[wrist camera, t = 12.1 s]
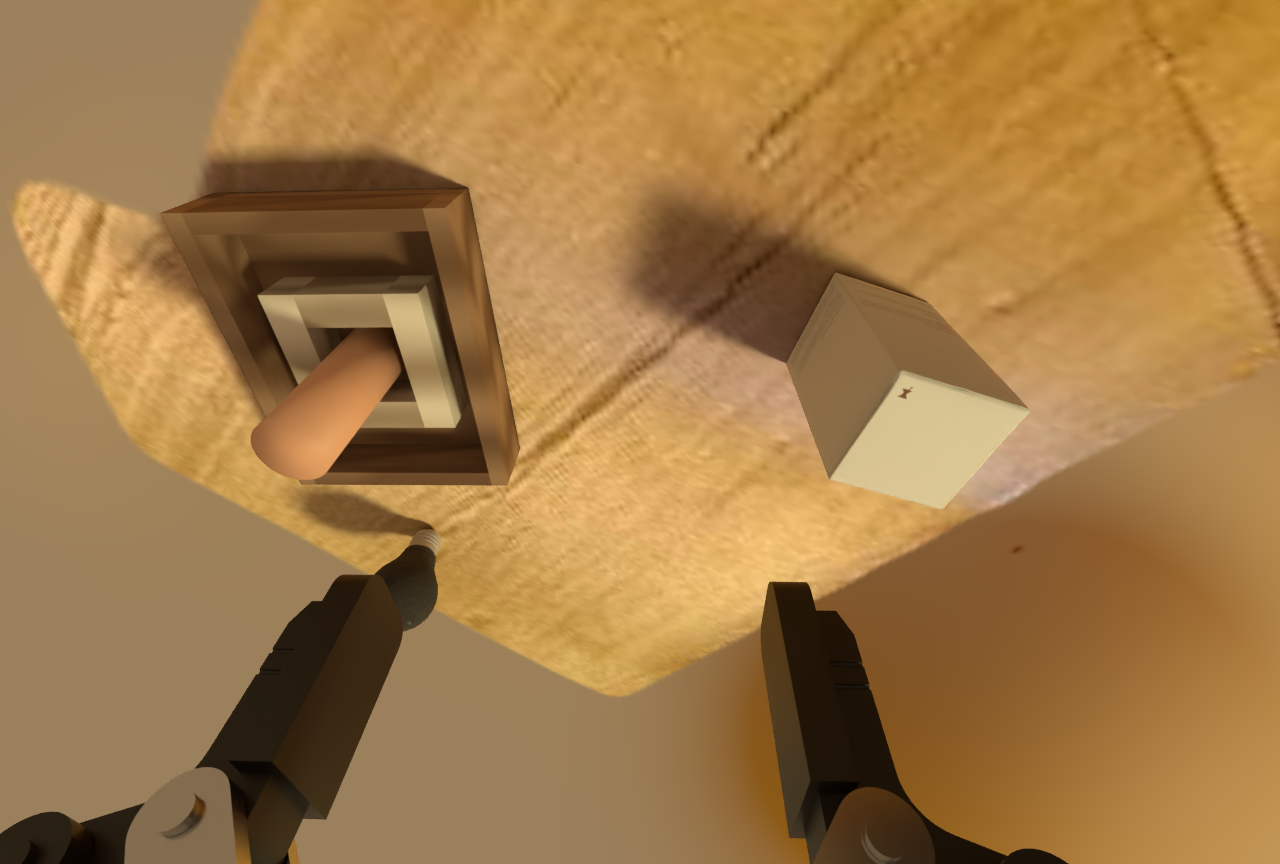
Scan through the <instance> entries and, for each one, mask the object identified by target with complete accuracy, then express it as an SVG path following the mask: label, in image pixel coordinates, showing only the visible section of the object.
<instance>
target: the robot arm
mask: <svg viewBox="0 0 1280 864" xmlns="http://www.w3.org/2000/svg"><path fill="white" fill-rule="evenodd" d="M402 634H403V622H402V618H401V615H400V613H399V611H398V609H397V607H396V605H395V602H394V600H393V598H392V596H391V594H390V592H389V590H388V587H387V585H386V583H385V581H384V579H383V578H382V577H381V576H379V575H341V576H339V577H338V578H337V579H336V580H335V581H334V582H333V584H332V585H331V587H330V589H329V590H328V592H327V594H326V595H325V597H324V599H323V600H322V601H312V602H311V603H310V604H309V605H308V606H306V607H305V608H304V609H303V610H302V611H301V612H300V613H299V614H298V615H297V616H296V617H294V618H293V619H292V620H291V621H290V622H289V623H288V625H287V627H286V628H285V630H284V631H283V633H282V634H281V636H280V637H279V639H278V641H277V642H276V644H275V645H274V647H273V652H272V653H270V654H269V655H268V657H267V658H266V660H265V662H264V663H263V665H262V666H261V668H260V673H259V674H258V675H256V676H255V677H254V679H253V680H252V682H251V684H250V685H249V687H248V688H247V690H246V692H245V693H244V695H243V696H242V698H241V700H240V701H239V703H238V704H237V706H236V708H235V709H234V711H233V712H232V714H231V716H230V717H229V719H228V720H227V722H226V723H225V725H224V727H223V728H222V730H221V732H220V733H219V735H218V736H217V738H216V740H215V741H214V743H213V744H212V746H211V747H210V749H209V751H208V752H207V754H206V755H205V756H204V758H203V759H202V761H201V762H200V763H199V764H198V765H197V766H196V768H195V769H193V770H190V771H187V772H185V773H183V774H181V775H179V776H177V777H175V778H174V779H172V780H170V781H169V782H168V783H166V784H165V785H164V786H162V787H161V788H160V789H159V790H157V791H156V792H155V793H154V794H153V795H152V796H151V797H150V798H149V799H148V800H147V801H146V802H145V803H143V804H140V805H137V806H134V807H131V808H127V809H124V810H121V811H117V812H114V813H111V814H108V815H104V816H101V817H98V818H95V819H92V820H88V821H85V822H82V823H78V822H76V821H74V820H73V819H71V818H69V817H68V816H66V815H64V814H62V813H59V812H45V813H40V814H37V815H34V816H31V817H29V818H26V819H24V820H22V821H20V822H18V823H16V824H14V825H13V826H11V827H10V828H8V829H6V830H5V831H3V832H2V833H1V834H0V864H300V863H299V857H298V851H297V846H296V842H295V840H294V837H295V835H296V833H297V830H298V828H299V826H300V824H301V822H302V819H326V818H327V816H328V814H329V811H330V809H331V807H332V804H333V802H334V800H335V797H336V795H337V792H338V790H339V788H340V785H341V783H342V781H343V778H344V776H345V774H346V771H347V769H348V767H349V764H350V762H351V760H352V757H353V755H354V752H355V750H356V748H357V746H358V743H359V741H360V739H361V736H362V734H363V731H364V729H365V727H366V724H367V722H368V719H369V717H370V715H371V713H372V710H373V708H374V706H375V703H376V701H377V699H378V696H379V694H380V692H381V689H382V687H383V684H384V682H385V680H386V677H387V675H388V673H389V670H390V668H391V666H392V663H393V661H394V659H395V656H396V654H397V652H398V649H399V647H400V643H401V640H402ZM761 651H762V659H763V666H764V673H765V679H766V686H767V692H768V699H769V706H770V712H771V719H772V725H773V732H774V739H775V744H776V752H777V759H778V765H779V772H780V778H781V785H782V791H783V798H784V805H785V812H786V818H787V825H788V831H789V838H805V839H806V842H807V848H808V854H809V860H810V864H1068V863H1066V862H1065V861H1063V860H1062V859H1060V858H1058V857H1056V856H1055V855H1053V854H1050V853H1048V852H1045V851H1042V850H1037V849H1021V850H1017V851H1015V852H1013V853H1011V854H1010V855H1009V856H1006V855H1003V854H1001V853H998V852H996V851H993V850H991V849H988V848H985V847H983V846H981V845H978V844H975V843H973V842H970V841H968V840H965V839H963V838H960V837H958V836H955V835H953V834H951V833H949V832H946V831H944V830H943V829H941V828H939V827H938V826H936V825H935V824H934V823H932V822H931V821H930V820H928V819H927V818H926V817H925V816H924V815H923V814H922V813H921V812H920V811H919V810H918V809H917V808H916V807H915V806H914V804H913V803H912V802H911V801H910V799H909V798H908V796H907V795H906V793H905V791H904V790H903V788H902V786H901V784H900V782H899V779H898V776H897V773H896V770H895V767H894V763H893V760H892V757H891V754H890V751H889V747H888V744H887V741H886V738H885V734H884V731H883V728H882V724H881V721H880V718H879V715H878V711H877V708H876V705H875V702H874V698H873V695H872V692H871V690H870V689H869V682H868V679H867V676H866V672H865V669H864V667H863V666H862V659H861V656H860V653H859V649H858V646H857V643H856V639H855V636H854V634H853V633H852V631H851V630H850V629H849V628H848V626H847V625H846V624H845V622H844V621H843V620H842V618H841V617H840V616H839V614H838V613H837V612H836V611H816V609H815V605H814V601H813V597H812V593H811V590H810V587H809V585H808V583H806V582H769V584H768V589H767V595H766V600H765V606H764V612H763V618H762V624H761Z"/></svg>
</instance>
